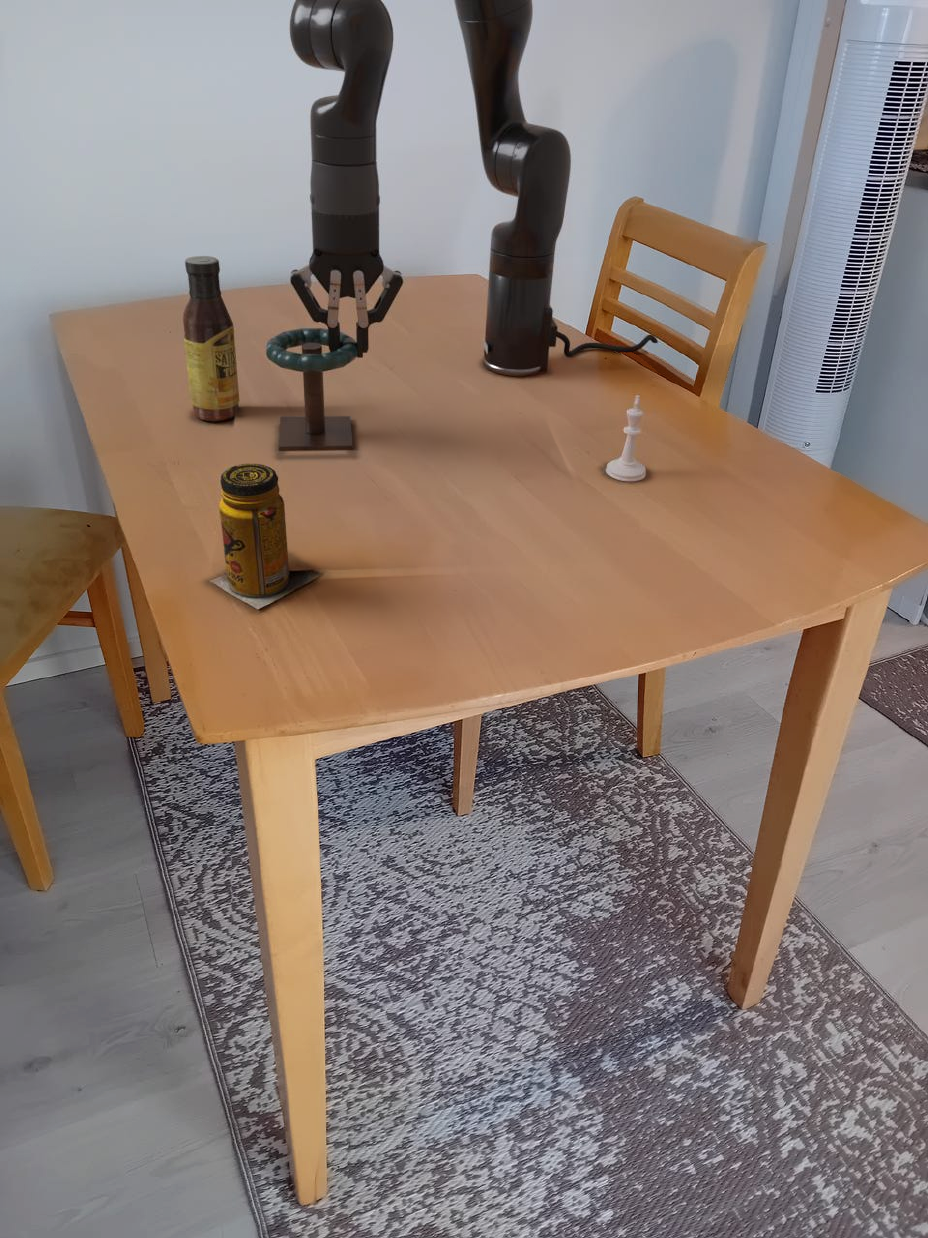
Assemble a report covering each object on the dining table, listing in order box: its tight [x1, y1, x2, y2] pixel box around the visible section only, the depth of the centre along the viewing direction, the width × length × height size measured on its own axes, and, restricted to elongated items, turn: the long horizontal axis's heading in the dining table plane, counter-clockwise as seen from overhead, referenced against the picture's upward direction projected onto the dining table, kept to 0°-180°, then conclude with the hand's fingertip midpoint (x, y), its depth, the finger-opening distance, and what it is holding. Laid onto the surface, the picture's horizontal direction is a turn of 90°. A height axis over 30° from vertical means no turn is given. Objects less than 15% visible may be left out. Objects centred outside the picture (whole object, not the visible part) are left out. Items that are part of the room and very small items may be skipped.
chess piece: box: [605, 394, 647, 482], centre depth 118 cm, size 5×5×10 cm
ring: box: [265, 327, 358, 373], centre depth 117 cm, size 11×11×2 cm
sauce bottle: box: [182, 255, 240, 422], centre depth 124 cm, size 7×6×20 cm
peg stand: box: [278, 343, 354, 452], centre depth 121 cm, size 9×9×12 cm
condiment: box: [209, 463, 323, 610], centre depth 94 cm, size 7×8×12 cm
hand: (348, 354), depth 118 cm, fingers closed on ring, 2 cm apart
